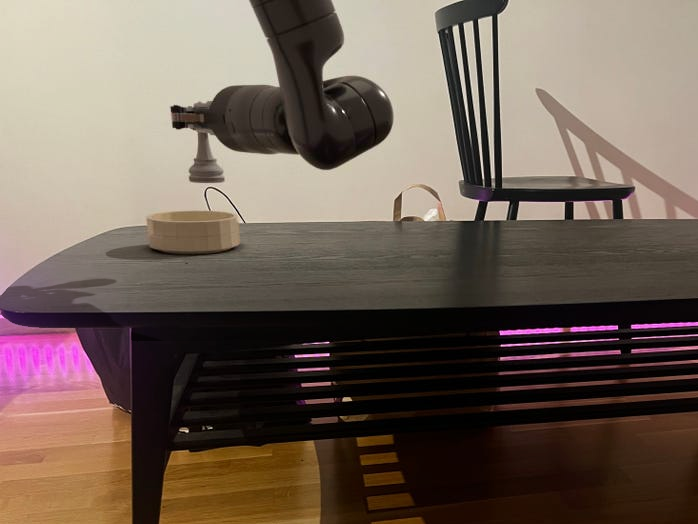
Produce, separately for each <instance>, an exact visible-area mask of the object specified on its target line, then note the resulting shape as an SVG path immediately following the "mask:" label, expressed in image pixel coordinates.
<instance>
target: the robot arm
mask: <svg viewBox="0 0 698 524" xmlns="http://www.w3.org/2000/svg"><path fill="white" fill-rule="evenodd" d="M248 2H249V4H250V6H251V8H252V10H253V11H252V12H253V13H254V15H255V17H256V19H257V22H258V24H259V26H260V29H261V31H262V33H263V35H264V38H265V39H266V42H267V45H268V46H269V49H270V51H271V54H272V58H273V62H274V67H275V71H276V76H277V82H278V86H274V85H271V84H239V85H235V84H234V85H229V86H225V87H224V88H222V89H221V90H220V91H218V92H217V93H216V94H215V96H214V97H213V99H212V100H207V101H206V102H202V103H198V102H195V103H193V106H192V105H188V106H187V107H186V106H181V105H178V104H173V106H172V105H170V107H169V108H170V109H169V110H170V117H171V118H170V119H171V127H172V129H175V130H179V131H180V130H183V129H190V130H193V129H194V128H195V129H196V130H195V131H196V133H198V132H200V133H208V135H210V136H215V137H216V139H217V140H218V141H219V142H220V143H221V144H222V145H223V146H224V147H226V148H227V149H229V150H231V151H234V152H239V153H245V154H246V153H247V154H256V155H257V154H259V155H278V154H284V155H293V156H297V155H298V156H300V157H301V158H302V159H303V160H304V161H305V162H306V163H308V164H309V165H310V166H312V167H313V168H315V169H318V170H321V171H331V170H335V169H336V168H339V167H341V166H343V165H344V164H346V163H349V162H350V161H352V160H353V159H355V158H357V157H359V156H360V155H362V154H364V153H367V152H368V151H370V150H372V149H374V148H376V147H377V146H378V145H380V144H381V143H383V142H384V141H385V140H386V139H387V138H388V137H389V135H390V133H391V131H392V128H393V125H394V119H395V117H394V109H393V105H392V102H391V100H390V98H389V96H388V94H387V93H386V92H385V90H384V89H383V88H382V87H381V86H379V85H378V84H377V83H376V82H374V81H373V80H371V79H368V78H366V77H363V76H359V75H344V76H338V77H333V78H330V79H325V80H324V77H323V75H324V66H325V65H326V64H327V62H328V61H329V60H330V59H331V58H332V57H334V56H335V55H336V54H337V53H338V52H339V51H340V50H341V49H342V48H343V46H344V43H345V34H344V30H343V26H342V24H341V21H340V19H339V16H338V13H337V12H336V8H335V6H334V3H333V0H248Z"/></svg>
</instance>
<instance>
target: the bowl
mask: <svg viewBox="0 0 698 524" xmlns="http://www.w3.org/2000/svg"><path fill="white" fill-rule="evenodd" d="M239 222H240V221H239V215H238V214H237V213H233V212H229V211H219V210H197V209H195V210H170V211H163V212H161V211H160V212H155V213H151V214H147V215H146V216H145V223H146V230H147V232H146V233H147V240H148V246H149V248H151V249H154V250H157V251H160V252H163V253H167V254H176V255H204V254H205V255H206V254H214V253H220V252H221V253H222V252H225V251H229V250H231V249H232V248H235V247H238V246H240V244H241V235H240V234H241V233H240V223H239Z"/></svg>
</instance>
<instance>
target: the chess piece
mask: <svg viewBox="0 0 698 524" xmlns="http://www.w3.org/2000/svg"><path fill="white" fill-rule="evenodd" d="M197 103H203V102H202V101H200V100H199V101H197ZM192 131H196V129H195V128H194V129H192ZM188 173H189V175H188V181H189V182H190V183H195V184H219V183H224V182H226V180H225V176H224V169H223V168H222V167H221V166H220V165H219V164H218V163H217V158H215V157H214V155H213V152H212V149H211V145H210V139H209V133H200V132H197V152H196V157H195V158H193V164H192V165H191V166H190V167H189V169H188Z"/></svg>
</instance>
